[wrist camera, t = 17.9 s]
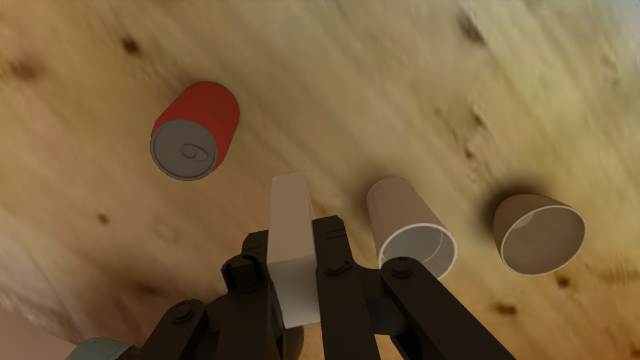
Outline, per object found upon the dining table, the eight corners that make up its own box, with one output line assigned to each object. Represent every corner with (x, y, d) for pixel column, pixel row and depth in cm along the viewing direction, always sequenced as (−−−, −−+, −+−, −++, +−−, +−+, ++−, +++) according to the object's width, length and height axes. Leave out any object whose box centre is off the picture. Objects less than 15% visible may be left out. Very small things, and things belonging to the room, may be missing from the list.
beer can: (233, 145, 46) (215, 194, 35) (174, 129, 44) (137, 175, 34) (246, 91, 43) (232, 126, 32) (185, 72, 42) (148, 102, 31)
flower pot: (476, 184, 50) (503, 214, 44) (554, 171, 50) (593, 198, 44) (475, 248, 55) (499, 283, 48) (547, 235, 55) (581, 269, 48)
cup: (401, 158, 48) (433, 208, 37) (432, 203, 51) (471, 261, 40) (347, 194, 50) (362, 252, 39) (381, 236, 53) (404, 300, 42)
